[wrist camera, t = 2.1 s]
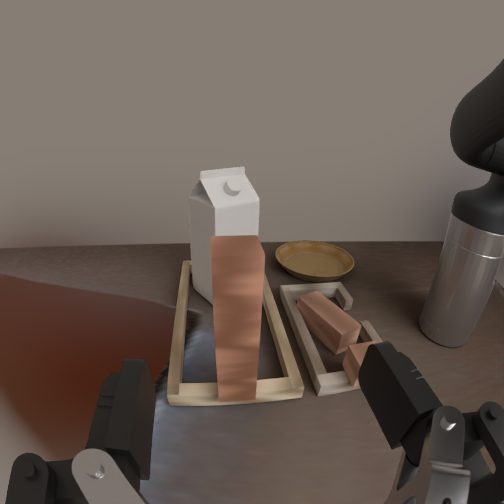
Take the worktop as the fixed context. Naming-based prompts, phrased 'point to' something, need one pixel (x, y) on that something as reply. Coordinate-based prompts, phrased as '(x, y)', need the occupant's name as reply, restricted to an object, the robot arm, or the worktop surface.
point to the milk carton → (218, 218)
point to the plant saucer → (314, 260)
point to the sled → (234, 331)
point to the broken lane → (327, 332)
